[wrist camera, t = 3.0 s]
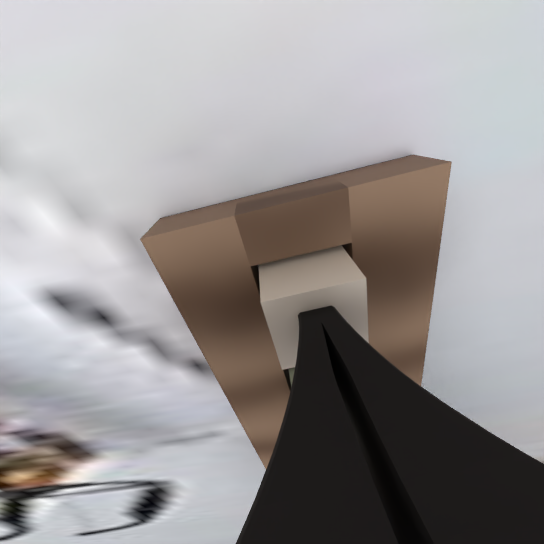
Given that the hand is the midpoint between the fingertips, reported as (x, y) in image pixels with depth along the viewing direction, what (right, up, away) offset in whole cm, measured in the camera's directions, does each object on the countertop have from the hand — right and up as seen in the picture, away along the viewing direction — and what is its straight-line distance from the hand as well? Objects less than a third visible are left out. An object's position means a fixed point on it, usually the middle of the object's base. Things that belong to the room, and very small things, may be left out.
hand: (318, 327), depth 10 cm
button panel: (+1, -4, +8) cm, 8 cm away
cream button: (0, +1, +3) cm, 3 cm away
